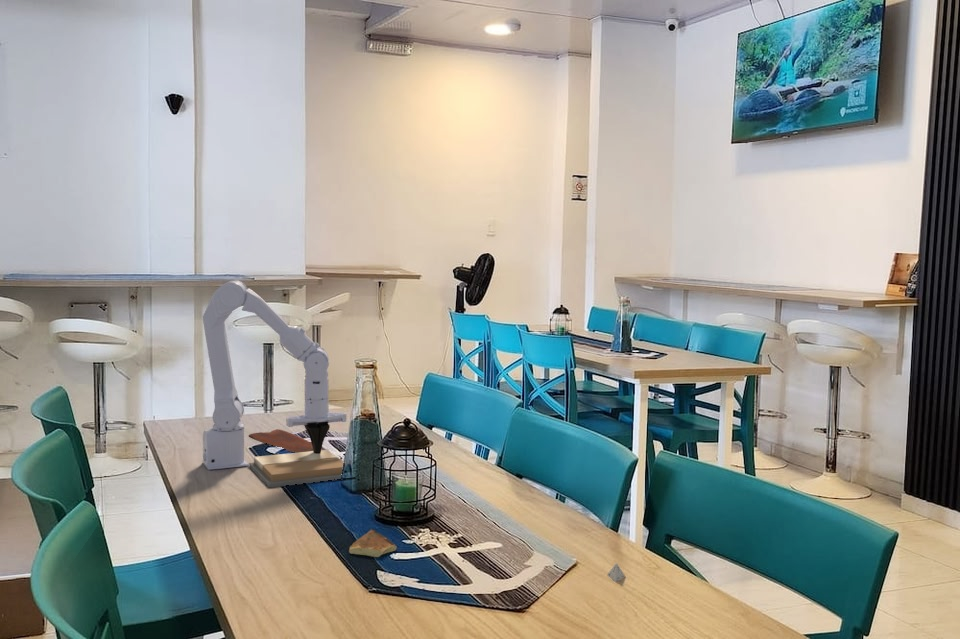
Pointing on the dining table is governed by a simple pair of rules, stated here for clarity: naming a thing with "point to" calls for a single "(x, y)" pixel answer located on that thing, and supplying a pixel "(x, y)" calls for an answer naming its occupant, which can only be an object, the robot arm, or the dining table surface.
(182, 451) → the dining table surface
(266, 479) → the floor base
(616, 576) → the tetrahedral die
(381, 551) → the shard
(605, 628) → the dining table surface
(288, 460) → the ash plank
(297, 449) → the wooden tablet
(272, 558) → the dining table surface
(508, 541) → the dining table surface
